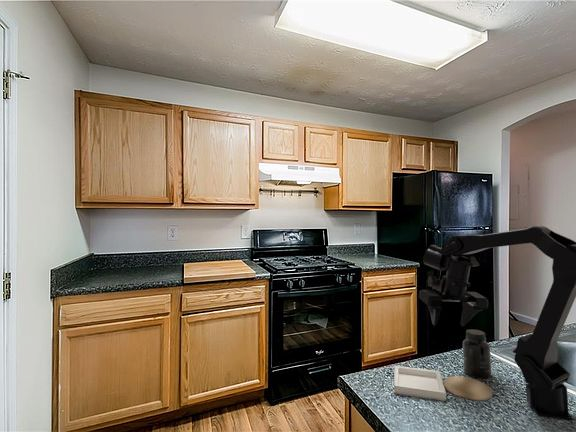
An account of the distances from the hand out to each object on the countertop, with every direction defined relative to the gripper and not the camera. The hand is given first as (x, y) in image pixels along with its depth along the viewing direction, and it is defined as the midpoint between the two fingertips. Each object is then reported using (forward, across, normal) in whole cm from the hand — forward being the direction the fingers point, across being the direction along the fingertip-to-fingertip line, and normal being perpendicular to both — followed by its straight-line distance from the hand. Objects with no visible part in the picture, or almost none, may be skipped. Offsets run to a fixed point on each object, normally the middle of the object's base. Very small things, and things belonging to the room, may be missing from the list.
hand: (448, 325), depth 92 cm
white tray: (+12, +13, +10) cm, 21 cm away
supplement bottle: (+11, -7, +7) cm, 15 cm away
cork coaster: (+10, +2, +14) cm, 17 cm away
